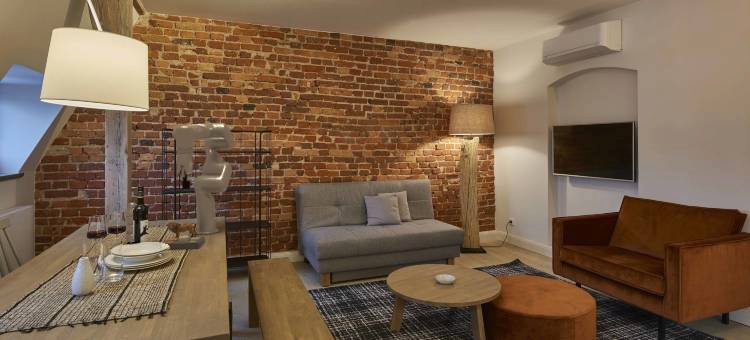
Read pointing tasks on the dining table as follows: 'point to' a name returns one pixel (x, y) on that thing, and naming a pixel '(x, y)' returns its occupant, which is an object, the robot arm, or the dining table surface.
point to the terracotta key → (173, 239)
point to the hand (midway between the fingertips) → (186, 188)
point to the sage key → (195, 238)
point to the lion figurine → (181, 228)
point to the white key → (184, 238)
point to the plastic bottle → (129, 222)
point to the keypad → (185, 244)
